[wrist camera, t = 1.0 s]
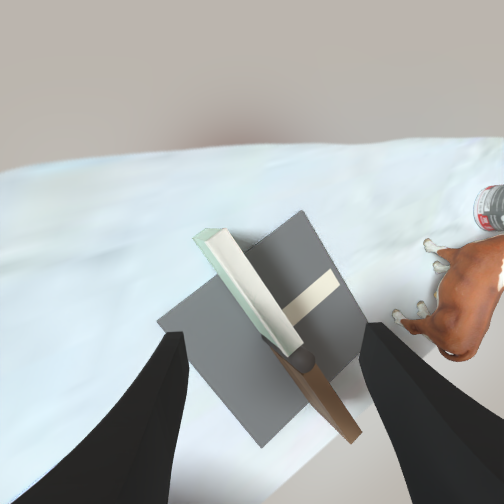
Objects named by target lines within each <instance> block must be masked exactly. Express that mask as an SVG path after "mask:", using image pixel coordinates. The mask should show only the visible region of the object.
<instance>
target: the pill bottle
mask: <svg viewBox="0 0 504 504" xmlns="http://www.w3.org/2000/svg"><path fill="white" fill-rule="evenodd" d="M474 217H475V220H476V222H477V224H478V225H479V226H480V227H481V228H482V229H484V230H487V231H504V185H495V186H489V187H486V188H484V189H483V190H481V191H480V193H479V194H478V196H477V198H476V200H475V203H474Z"/></svg>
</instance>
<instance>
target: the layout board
mask: <svg viewBox="0 0 504 504" xmlns="http://www.w3.org/2000/svg"><path fill="white" fill-rule="evenodd" d="M244 255H245V256H246V258H247V259H248V261H249V262H250V264H251V265H252V267H253V268H254V270H255V271H256V273H257V274H258V276H259V277H260V279H261V280H262V282H263V283H264V284H265V286H266V287H267V289H268V290H269V292H270V293H271V295H272V296H273V298H274V299H275V301H276V302H277V304H278V305H279V307H280V308H281V310H282V311H283V313H284V314H285V316H286V317H287V319H288V320H289V322H290V323H291V325H292V326H293V328H294V329H295V330H296V332H297V333H298V335H299V336H300V338H301V339H302V341H303V342H304V343H303V344H302V345H301V346H303V347H304V348H305V349H307V350H308V351H310V352H311V353H312V354H313V355H314V356H315V363H316V364H317V366H318V367H319V369H320V370H321V372H322V373H323V375H324V376H325V378H326V379H327V381H328V382H330V381H331V380H332V379H333V378H334V377H335V376H336V375H337V374H338V373H339V372H340V371H342V370H343V369H344V368H345V367H346V366H347V365H348V364H349V363H350V362H351V361H352V360H353V359H354V358H355V357H356V356H357V355H358V354H359V353H360V351H361V346H362V341H363V336H364V332H365V327H366V323H368V322H367V320H366V318H365V317H364V315H363V313H362V311H361V310H360V308H359V306H358V305H357V303H356V301H355V300H354V298H353V296H352V294H351V293H350V291H349V289H348V288H347V286H346V284H345V282H344V281H343V279H342V277H341V276H340V274H339V272H338V270H337V269H336V267H335V265H334V264H333V262H332V260H331V258H330V257H329V255H328V253H327V252H326V250H325V248H324V246H323V245H322V243H321V241H320V240H319V238H318V236H317V235H316V233H315V231H314V229H313V228H312V226H311V224H310V223H309V221H308V219H307V217H306V216H305V214H304V212H303V211H302V210H300V211H299V212H298V213H297V214H295V215H294V216H293V217H291V218H290V219H289V220H287V221H286V222H285V223H284V224H282V225H281V226H280V227H278V228H277V229H276V230H274V231H273V232H272V233H271V234H269V235H268V236H267V237H265V238H264V239H263V240H261V241H260V242H259V243H257V244H256V245H255V246H254V247H252V248H251V249H250V250H248V251H247V252H246V253H244ZM157 323H158V324H159V325H160V327H161V328H162V329H163V330H164V331H165V333H167V332H178V331H183V333H184V339H185V345H186V351H187V357H188V360H189V362H190V363H191V364H192V365H193V366H194V368H195V369H196V370H197V371H198V373H199V374H200V375H201V376H202V377H203V379H204V380H205V381H206V382H207V383H208V385H209V386H210V387H211V388H212V389H213V391H214V392H215V393H216V394H217V396H218V397H219V398H220V399H221V400H222V402H223V403H224V404H225V405H226V406H227V408H228V409H229V410H230V411H231V412H232V414H233V415H234V416H235V417H236V418H237V420H238V421H239V422H240V423H241V425H242V426H243V427H244V428H245V429H246V431H247V432H248V433H249V434H250V435H251V437H252V438H253V439H254V440H255V441H256V443H257V444H258V445H259V446H260V448H261V449H262V448H263V447H264V446H265V445H266V444H267V443H268V442H269V441H270V440H271V439H272V438H273V437H274V436H275V435H276V434H277V433H278V432H279V431H280V430H281V429H282V428H283V427H284V426H285V425H286V424H287V423H288V422H289V421H290V420H291V419H292V418H293V417H294V416H295V415H297V414H298V413H299V412H300V411H301V410H302V409H303V408H304V407H305V406H306V405H307V404H308V403H309V401H308V400H307V399H306V397H305V396H304V394H303V393H302V392H301V390H300V389H299V387H298V386H297V385H296V383H295V382H294V380H293V379H292V378H291V376H290V375H289V373H288V372H287V371H286V369H285V368H284V366H283V365H282V364H281V362H280V361H279V359H278V358H277V357H276V355H275V354H274V353H273V351H272V350H271V348H270V346H269V345H268V344H267V343H266V342H265V341H263V339H262V337H261V333H260V332H259V331H258V329H257V328H256V327H255V325H254V324H253V322H252V321H251V320H250V318H249V317H248V315H247V314H246V313H245V311H244V310H243V309H242V307H241V306H240V304H239V303H238V302H237V300H236V299H235V297H234V296H233V295H232V293H231V292H230V290H229V289H228V288H227V286H226V285H225V283H224V282H223V281H222V279H221V278H220V276H219V275H218V274H217V275H216V276H214V277H213V278H212V279H211V280H209V281H208V282H207V283H205V284H204V285H203V286H201V287H200V288H199V289H198V290H196V291H195V292H194V293H192V294H191V295H190V296H188V297H187V298H186V299H184V300H183V301H182V302H181V303H179V304H178V305H177V306H175V307H174V308H173V309H171V310H170V311H169V312H168V313H166V314H165V315H164V316H162V317H161V318H160V319H158V320H157Z"/></svg>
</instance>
